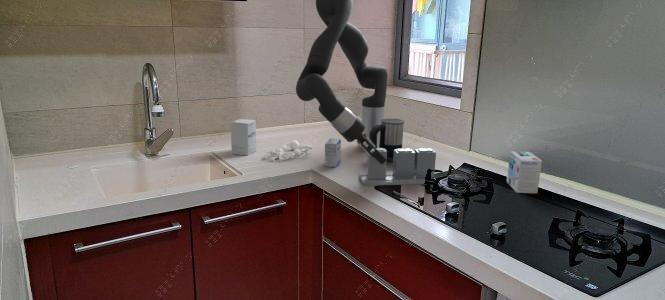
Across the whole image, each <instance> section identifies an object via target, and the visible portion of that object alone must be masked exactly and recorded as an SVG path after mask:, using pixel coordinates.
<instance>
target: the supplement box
mask: <svg viewBox="0 0 665 300" xmlns="http://www.w3.org/2000/svg"><path fill="white" fill-rule="evenodd" d="M230 136H231V137H230V141H231V142H230V143H231V147H230V148H231V154H232V155H241V156H242V155H243V156H249V155H251V154H254V152H256V151H257V120H255V119H247V118H239V119H236V120H234V121H231V122H230Z"/></svg>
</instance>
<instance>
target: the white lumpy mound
mask: <svg viewBox="0 0 665 300" xmlns="http://www.w3.org/2000/svg"><path fill="white" fill-rule="evenodd" d="M288 147H289V148H290V149H291V150H292V151H288ZM312 149H313V147H312V146H310V145H309V144H302V145H300V143H299V142H298V140H291V141H290V142H288V141H286V142H285V143H284V144H283V145H281V146H279V147H277V148H275V149H274V150H273V149H272V150H270V151H268V152H266V153H264V156H265V159H266V160H269V161H270V162H275V163H278V162H280V163H281V162H283V161H285V160H289V159H301V158H302V157H304V156H308V155H310V154H311V153H312ZM283 157H285V158H283ZM276 159H278V160H276Z"/></svg>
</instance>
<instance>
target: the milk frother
mask: <svg viewBox="0 0 665 300" xmlns="http://www.w3.org/2000/svg"><path fill="white" fill-rule="evenodd" d="M380 121H381V125H376V126H374V127H373V128H372V129H371V131H370V140H371V141H372V143H373V144H374V145H375V147H376V148H377V134H378V132H379V131H380V142H379V148H385V149H386V151H387V161H386V162H393V158H394V149H403V140H404V138H403V137H404V127H405V125H404V124H405V122H406V121H405V120H403V119H400V118H399V119H398V118H384V119H381V120H380Z"/></svg>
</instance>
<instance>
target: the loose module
mask: <svg viewBox="0 0 665 300" xmlns="http://www.w3.org/2000/svg"><path fill="white" fill-rule="evenodd" d="M376 149H377V150H378V151H379V153H380V154H381V155H382V156H383V157H384V158H385V159H386V162H384V163H383V164H380V163H379V162H378V161H377V160H376V159H375V158H373V157H372V156H371V155H370V154H369V153H367V168H366V169H367V170H366V171H367V172H366V174H367V177H368V179H386V174H387V162H388V161H387V151H386V149H385V148H376ZM374 151H375V150H374V149H372V150H371V153H373V152H374Z"/></svg>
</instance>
